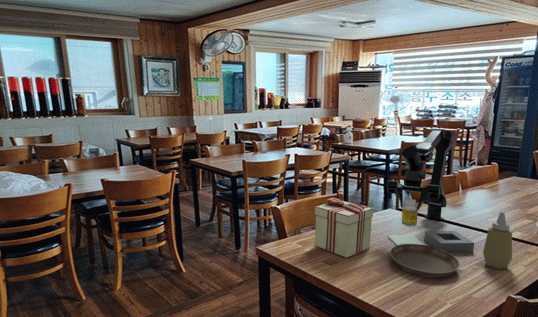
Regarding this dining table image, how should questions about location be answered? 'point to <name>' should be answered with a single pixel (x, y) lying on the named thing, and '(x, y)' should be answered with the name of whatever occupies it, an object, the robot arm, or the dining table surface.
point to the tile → (404, 239)
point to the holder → (449, 241)
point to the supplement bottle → (409, 213)
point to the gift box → (343, 227)
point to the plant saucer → (424, 260)
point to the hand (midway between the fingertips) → (409, 208)
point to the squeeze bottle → (498, 244)
